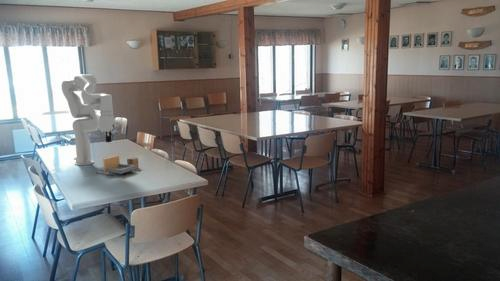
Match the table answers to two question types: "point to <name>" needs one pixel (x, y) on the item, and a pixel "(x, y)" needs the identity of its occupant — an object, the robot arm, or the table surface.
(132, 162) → the walnut block
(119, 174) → the rail track
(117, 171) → the grey and tan frame
